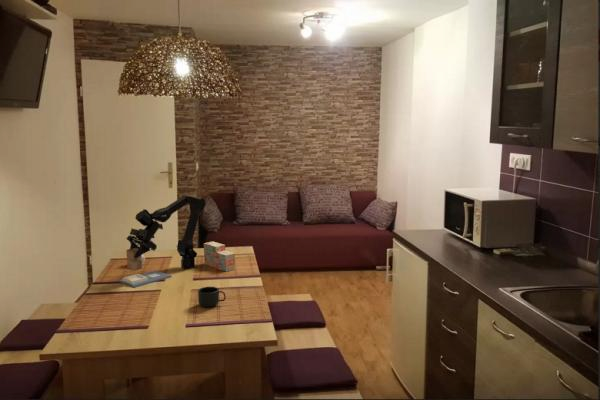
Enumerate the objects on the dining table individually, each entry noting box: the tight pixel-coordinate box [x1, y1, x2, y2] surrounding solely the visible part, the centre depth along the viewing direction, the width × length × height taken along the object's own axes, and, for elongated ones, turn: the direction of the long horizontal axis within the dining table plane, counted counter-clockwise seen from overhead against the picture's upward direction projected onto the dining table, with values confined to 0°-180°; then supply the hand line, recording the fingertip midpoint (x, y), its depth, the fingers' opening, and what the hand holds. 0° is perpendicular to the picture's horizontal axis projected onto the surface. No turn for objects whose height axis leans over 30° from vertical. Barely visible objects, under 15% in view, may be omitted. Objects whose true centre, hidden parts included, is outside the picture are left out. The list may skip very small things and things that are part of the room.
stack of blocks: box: [203, 241, 236, 272], centre depth 282 cm, size 21×6×12 cm, turn 43°
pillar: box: [126, 248, 143, 272], centre depth 253 cm, size 5×5×10 cm
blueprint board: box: [118, 270, 173, 288], centre depth 260 cm, size 22×14×2 cm, turn 141°
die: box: [141, 254, 146, 265], centre depth 284 cm, size 8×9×10 cm
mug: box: [197, 286, 227, 308], centre depth 224 cm, size 12×9×7 cm
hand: (131, 256), depth 252 cm, fingers closed on pillar, 5 cm apart
